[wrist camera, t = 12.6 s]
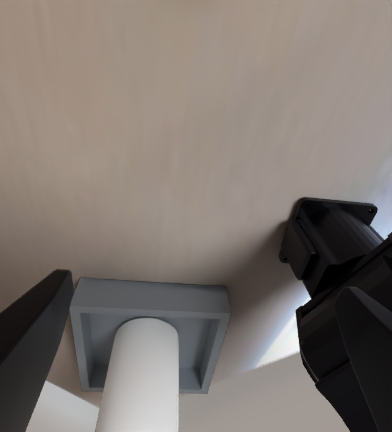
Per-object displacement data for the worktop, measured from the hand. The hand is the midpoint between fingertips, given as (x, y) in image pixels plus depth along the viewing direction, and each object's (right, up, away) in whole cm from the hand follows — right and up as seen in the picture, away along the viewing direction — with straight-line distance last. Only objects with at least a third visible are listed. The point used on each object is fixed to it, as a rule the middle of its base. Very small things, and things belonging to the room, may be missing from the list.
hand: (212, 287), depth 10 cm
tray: (-5, -10, +21) cm, 24 cm away
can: (-6, -10, +21) cm, 24 cm away
